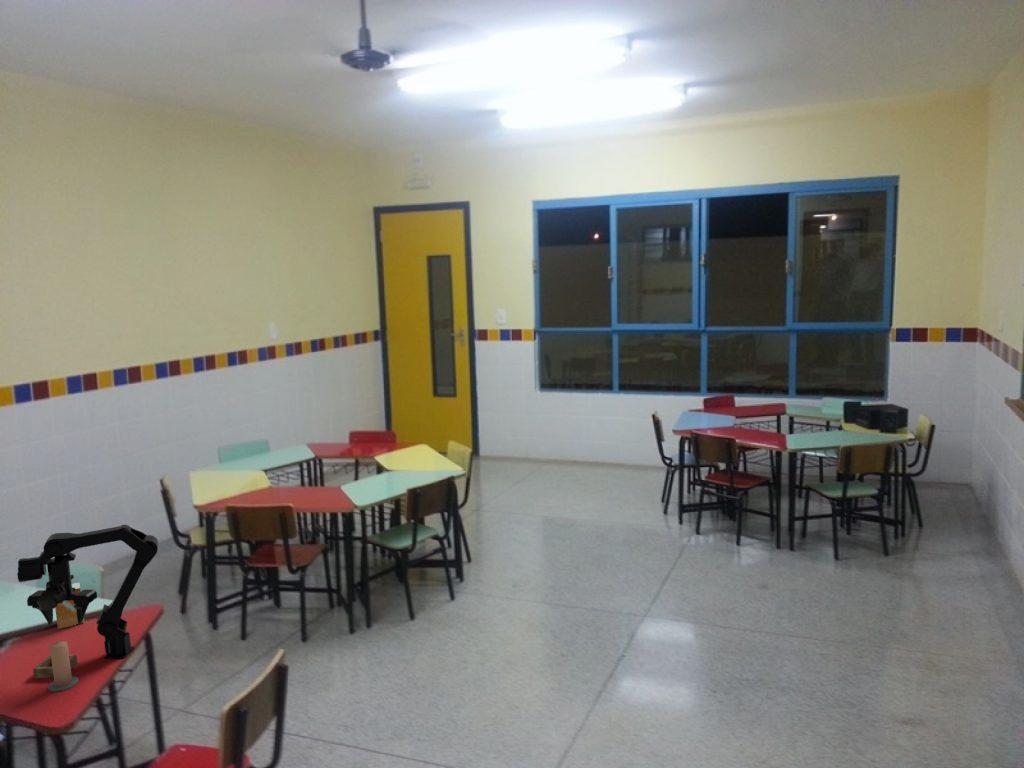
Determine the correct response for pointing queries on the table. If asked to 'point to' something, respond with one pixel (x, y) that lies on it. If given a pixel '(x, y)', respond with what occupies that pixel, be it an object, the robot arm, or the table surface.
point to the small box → (67, 611)
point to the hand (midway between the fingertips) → (65, 624)
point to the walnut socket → (50, 667)
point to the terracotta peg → (61, 663)
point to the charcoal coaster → (57, 689)
